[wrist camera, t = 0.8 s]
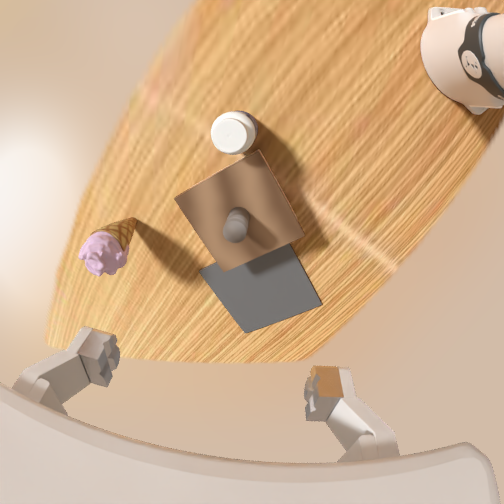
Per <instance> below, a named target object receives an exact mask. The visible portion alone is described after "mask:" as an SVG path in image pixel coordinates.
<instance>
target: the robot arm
mask: <svg viewBox="0 0 504 504" xmlns="http://www.w3.org/2000/svg"><path fill="white" fill-rule="evenodd" d="M440 12H441V13H442V14H443V15H441V13H440ZM421 56H422V60H423V63H424V66H425V69H426V71H427V73H428V75H429V77H430V78H431V80H432V81H433V83H434V84H435V85H436V87H437V88H438V89H439V90H440V91H441V92H442V93H443V94H445V95H446V96H447V97H449V98H451V99H452V100H454V101H457V102H459V103H462V104H463V105H465V106H466V108H467V109H468V110H469V111H470V112H472V113H473V114H475V115H480V114H482V113H483V112H484V111H486V110H487V109H488V108H502V105H504V14H500V13H488V12H487V10H486V9H485V8H484V7H476V8H474V10H473V9H472V8H465V9H457V8H445V7H432V8H430V9H429V10H428V24H427V26H426V28H425V30H424V32H423V34H422V38H421ZM116 342H117V338H116V335H114V334H111V333H107V332H104V331H101V330H97V329H93V328H90V327H87V326H84V327H82V328H81V329H80V331H79V332H78V334H77V335H76V337H75V338H74V340H73V341H72V343H71V344H70V346H69V347H68V349H67V350H62V351H60V352H58V353H56V354H54V355H52V356H50V357H48V358H46V359H44V360H42V361H40V362H38V363H36V364H34V365H32V366H30V367H28V368H26V369H24V370H23V372H22V373H21V375H20V376H19V378H18V379H17V381H16V383H15V384H14V386H13V387H12V389H11V388H9V387H7V386H6V385H4V384H2V383H1V382H0V504H500V499H499V492H498V487H497V483H496V478H495V475H494V471H493V467H492V464H491V462H490V460H489V459H488V457H487V456H486V455H484V454H483V453H482V452H481V451H480V450H478V449H477V448H476V447H475V446H473V445H472V444H470V443H468V442H463V443H458V444H455V445H451V446H447V447H443V448H438V449H434V450H430V451H425V452H420V453H414V454H409V455H403V456H400V454H399V450H398V445H397V441H396V437H395V433H394V431H393V430H392V429H391V428H390V427H389V426H388V425H387V424H386V423H385V422H384V421H383V420H382V419H381V418H380V417H379V416H378V415H377V414H376V413H375V412H373V411H372V410H371V408H370V407H368V405H366V404H365V402H363V400H362V399H360V398H357V397H356V393H355V388H354V384H353V380H352V375H351V371H350V369H349V367H333V366H313V367H312V369H311V372H310V373H311V376H310V377H309V378H307V381H306V384H305V389H304V390H305V391H304V397H305V400H306V401H307V402H308V404H307V405H306V407H305V411H306V420H307V421H324V422H326V424H327V425H328V427H329V428H330V429H331V431H332V432H333V433H334V435H335V436H336V438H337V439H338V440H339V442H340V443H341V444H342V446H343V447H344V448H345V450H346V451H347V452H346V453H345V454H344V455H343V456H342V457H341V458H340V459H339V460H338V461H337V463H336V462H335V463H277V462H261V461H250V460H240V459H230V458H223V457H216V456H209V455H203V454H197V453H191V452H187V451H181V450H177V449H172V448H168V447H163V446H159V445H155V444H151V443H147V442H143V441H140V440H136V439H132V438H129V437H126V436H122V435H119V434H116V433H113V432H110V431H107V430H104V429H101V428H98V427H95V426H92V425H90V424H87V423H84V422H82V421H79V420H77V419H74V418H71V417H69V416H68V415H67V412H66V410H65V409H64V407H63V406H62V404H63V403H64V402H66V401H67V400H68V399H70V398H71V397H72V396H74V395H75V394H77V393H78V392H79V391H81V390H82V389H83V388H85V387H86V386H88V385H89V384H90V383H94V384H97V385H100V386H104V387H108V385H109V383H110V380H111V379H112V372H111V371H113V370H114V369H116V368H117V366H118V364H119V359H120V351H119V348H118V347H117V345H116Z"/></svg>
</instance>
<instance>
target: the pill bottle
mask: <svg viewBox="0 0 504 504" xmlns="http://www.w3.org/2000/svg"><path fill="white" fill-rule="evenodd" d="M257 133H258V125H257V122H256V120H255V118H254V117H253V116H252V115H251V114H249V113H247V112H244V111H232V112H227V113H224V114H222V115H221V116H219V117H218V118H217V119H216V120H215V121H214V123H213V125H212V128H211V138H212V141H213V143H214V145H215V146H216V148H217V149H219V150H220V151H221V152H223V153H226V154H230V155H236V154H240V153H243V152H245V151H246V150H248V149H249V148H250V147H251V145H252V144H253V142H254V140H255V139H256V136H257Z"/></svg>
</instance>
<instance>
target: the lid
mask: <svg viewBox="0 0 504 504" xmlns="http://www.w3.org/2000/svg"><path fill="white" fill-rule="evenodd" d="M174 199H175V201H176V202H177V204H178V205H179V207H180V209H181V210H182V212H183V213H184V215H185V216H186V218H187V219H188V221H189V222H190V224H191V225H192V227H193V228H194V230H195V231H196V233H197V234H198V236H199V237H200V238H201V240H202V241H203V243H204V244H205V246H206V247H207V249H208V250H209V252H210V253H211V255H212V256H213V258H214V259H215V261H216V262H217V263H218V265H219V266H220V268H221V269H222V271H223V272H226V271H228V270H231V269H233V268H235V267H237V266H239V265H242V264H244V263H246V262H248V261H251V260H253V259H255V258H257V257H259V256H262V255H264V254H266V253H268V252H271V251H273V250H275V249H277V248H279V247H282V246H284V245H286V244H288V243H290V242H293V241H295V240H297V239H299V238H301V237H304V236H305V234H304V232H303V230H302V228H301V226H300V224H299V222H298V220H297V218H296V216H295V214H294V212H293V211H292V209H291V207H290V205H289V203H288V201H287V199H286V197H285V196H284V194H283V192H282V190H281V188H280V186H279V185H278V183H277V181H276V179H275V177H274V176H273V174H272V172H271V170H270V168H269V167H268V165H267V163H266V161H265V160H264V158H263V156H262V154H261V152H260V151H259V150H258V151H256V152H254V153H252V154H250V155H248V156H246V157H244V158H243V159H241V160H239V161H237V162H235V163H233V164H232V165H230V166H228V167H226V168H224V169H223V170H221V171H219V172H217V173H215V174H214V175H212V176H210V177H208V178H207V179H205V180H203V181H201V182H200V183H198V184H196V185H195V186H193V187H191V188H190V189H188V190H186V191H185V192H183V193H181V194H180V195H178V196H176V197H175V198H174Z"/></svg>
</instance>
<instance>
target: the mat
mask: <svg viewBox="0 0 504 504" xmlns="http://www.w3.org/2000/svg"><path fill="white" fill-rule="evenodd" d="M199 272H200V274H201V275H202V277H203V278H204V279H205V281H206V282H207V283H208V285H209V286H210V287H211V289H212V290H213V292H214V293H215V294H216V296H217V297H218V298H219V300H220V301H221V302H222V304H223V305H224V306H225V308H226V309H227V310H228V312H229V313H230V314H231V316H232V317H233V318H234V319H235V321H236V322H237V323H238V325H239V326H240V327H241V329H242V330H243V331H244V332H245V333H248V332H251V331H254V330H257V329H259V328H262V327H265V326H268V325H270V324H273V323H276V322H279V321H281V320H284V319H287V318H289V317H292V316H295V315H297V314H300V313H302V312H305V311H308V310H310V309H313V308H315V307H318V306H320V305H322V303H321V301H320V299H319V297H318V295H317V293H316V292H315V290H314V288H313V286H312V284H311V282H310V280H309V278H308V277H307V275H306V273H305V271H304V269H303V267H302V265H301V264H300V262H299V260H298V258H297V256H296V254H295V253H294V251H293V249H292V247H291V245H290V243H288V244H286V245H284V246H282V247H279V248H277V249H275V250H273V251H271V252H268V253H266V254H264V255H262V256H259V257H257V258H255V259H253V260H251V261H248V262H246V263H244V264H242V265H239V266H237V267H235V268H233V269H231V270H228V271H226V272H223V271H222V269H221V268H220V266H219V265H218V263H217V262H216V263H214V264H212V265H209V266H207V267H205V268H203V269H201V270H199Z"/></svg>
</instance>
